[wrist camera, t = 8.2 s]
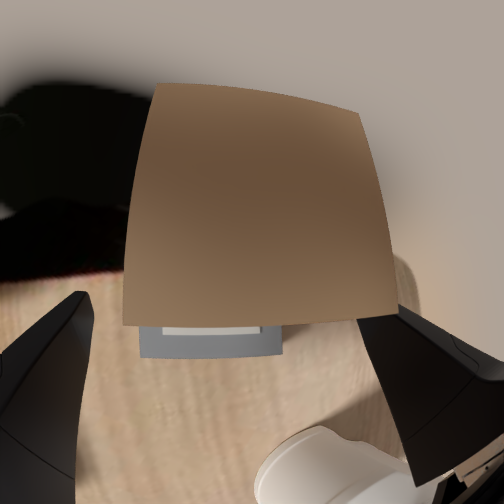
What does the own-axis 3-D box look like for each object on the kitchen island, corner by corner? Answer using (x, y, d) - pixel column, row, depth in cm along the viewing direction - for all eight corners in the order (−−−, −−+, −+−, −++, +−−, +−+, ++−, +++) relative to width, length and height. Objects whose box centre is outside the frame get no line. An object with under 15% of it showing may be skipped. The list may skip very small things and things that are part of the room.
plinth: (269, 350, 20) (283, 354, 16) (147, 352, 17) (139, 357, 14) (264, 234, 22) (276, 220, 19) (149, 231, 20) (143, 216, 17)
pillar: (247, 322, 17) (398, 313, 4) (174, 322, 16) (122, 325, 3) (245, 252, 18) (358, 113, 5) (175, 250, 17) (157, 83, 4)
